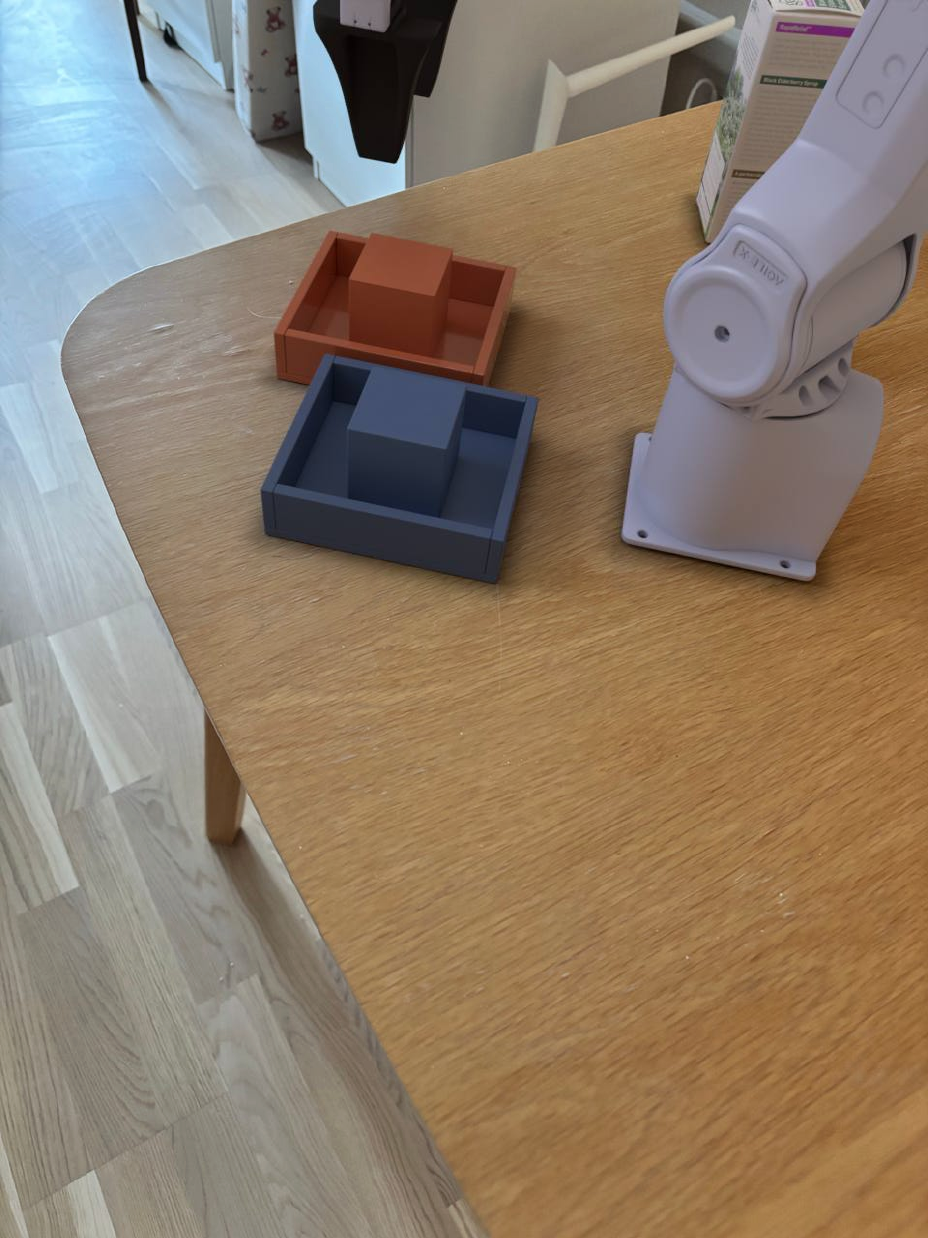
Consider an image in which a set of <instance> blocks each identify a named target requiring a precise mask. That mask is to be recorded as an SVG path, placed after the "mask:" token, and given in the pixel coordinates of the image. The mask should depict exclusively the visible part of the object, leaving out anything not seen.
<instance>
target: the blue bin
mask: <svg viewBox="0 0 928 1238" xmlns="http://www.w3.org/2000/svg"><path fill="white" fill-rule="evenodd" d="M373 367H379V368H384V369H388V370H393V371H398V372H403V373H408V374H413V375H418V376H423V377H427V378H432V379H437V380H442V381H447V382H452V383H457V384H461V385H466V386H467V390H466V399H465V407H464V416H463V424H462V433H461V441H460V450H459V457H458V460H457V464H456V467H455V470H454V474H453V477H452V480H451V483H450V487H449V490H448V493H447V497H446V500H445V503H444V506H443V510H442V513H441V516H440V518H436V517H432V516H427V515H422V514H418V513H413V512H408V511H404V510H399V509H394V508H389V507H385V506H380V505H375V504H371V503H366V502H361V501H357V500H352V499H347V427H348V425H349V423H350V420H351V418H352V415H353V413H354V411H355V408H356V406H357V404H358V401H359V399H360V396H361V394H362V392H363V389H364V387H365V385H366V382H367V380H368V377H369V375H370V373H371V370H372V368H373ZM539 400H540V399H539V397H538V396H533V395H527V394H523V393H520V392H515V391H510V390H505V389H500V388H495V387H491V386H488V387H486V386H481V385H476V384H471V383H466V382H461V381H457V380H452V379H447V378H442V377H437V376H432V375H427V374H422V373H418V372H413V371H408V370H403V369H398V368H393V367H388V366H383V365H379V364H374V363H369V362H364V361H359V360H354V359H349V358H344V357H340V356H335V355H330V354H325V355H324V357H323V359H322V361H321V363H320V365H319V367H318V369H317V371H316V373H315V376H314V378H313V380H312V382H311V384H310V385H308V388H307V390H306V393H305V395H304V396H303V398H302V401H301V403H300V405H299V407H298V409H297V412H296V413H295V415H294V418H293V420H292V422H291V423H290V426H289V428H288V430H287V431H286V434H285V436H284V438H283V440H282V443H281V445H280V447H279V448H278V452H277V453H276V455H275V458H274V459H273V462H272V464H271V466H270V468H269V470H268V472H267V474H266V477H265V479H264V481H263V483H262V485H261V487H260V489H259V490H260V491H259V492H260V499H261V500H260V501H261V509H262V510H261V511H262V520H263V528H264V529H263V530H264V535H267V536H272V537H276V538H281V539H287V540H290V541H295V542H300V543H303V544H304V543H305V544H308V545H309V544H310V545H313V546H318V547H323V548H328V549H333V550H336V551H342V552H347V553H352V554H356V555H360V556H364V557H369V558H375V559H378V560H383V561H388V562H391V563H392V562H393V563H396V564H397V563H398V564H402V565H407V566H412V567H416V568H419V569H425V570H430V571H435V572H439V573H444V574H448V575H453V576H457V577H462V578H465V579H466V578H467V579H472V580H476V581H481V582H486V583H490V584H494V585H495V584H497V583H498V580H499V575H500V572H501V567H502V562H503V558H504V554H505V550H506V545H507V542H508V537H509V533H510V529H511V525H512V521H513V516H514V512H515V509H516V503H517V499H518V495H519V493H520V492H519V491H520V488H521V483H522V479H523V474H524V470H525V466H526V461H527V457H528V454H529V449H530V445H531V441H532V436H533V431H534V425H535V420H536V415H537V410H538V405H539Z"/></svg>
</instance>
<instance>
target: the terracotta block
mask: <svg viewBox="0 0 928 1238" xmlns="http://www.w3.org/2000/svg"><path fill="white" fill-rule="evenodd" d="M368 238H369V239H368V241H367V243H366V245H365V247H364V249H363V251H362V253H361V255H360V257H359V259H358V261H357V263H356V265H355V267H354V269H353V271H352V273H351V275H350V277H349V341H352V342H357V343H362V344H367V345H372V346H377V347H381V348H386V349H391V350H396V351H401V352H406V353H411V354H416V355H421V356H425V357H430V358H433V356H434V354H435V351H436V348H437V345H438V343H439V340H440V337H441V334H442V331H443V329H444V326H445V323H446V320H447V311H448V300H449V289H450V278H451V267H452V256H453V255H454V248H451V247H447V246H441V245H437V244H431V243H426V242H421V241H416V240H411V239H406V238H401V237H396V236H391V235H386V234H381V233H375V232H371V233H370V234H369V237H368Z"/></svg>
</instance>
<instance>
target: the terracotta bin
mask: <svg viewBox="0 0 928 1238" xmlns="http://www.w3.org/2000/svg"><path fill="white" fill-rule="evenodd" d="M368 239H369V237H365V236H360V235H356V234H351V233H344V232H338V231H336V230H335V231H334V230H328V231H327V233H326V235H325V237H324V238H323V241H322V242H321V245H320V246H319V248H318V250H317V251H316V253H315V255H314V257H313V259H312V261H311V263H310V264H309V267H308V268H307V270H306V272H305V274H304V276H303V278H302V279H301V281H300V283H299V285H298V287H297V289H296V290H295V293H294V294H293V296H292V297H291V300H290V301H289V303H288V305H287V307H286V308H285V310H284V312H283V314H282V316H281V318H280V319H279V322H278V323H277V325H276V327H275V329H274V331H273V340H274V341H273V342H274V343H273V344H274V356H275V366H276V370H275V371H276V379H279V380H284V381H289V382H294V383H298V384H302V385H308V386H310V384H311V382H312V380H313V378H314V376H315V373H316V371H317V369H318V367H319V365H320V363H321V361H322V359H323V357H324V355H325V354H330V355H335V356H340V357H344V358H349V359H354V360H359V361H364V362H369V363H374V364H379V365H383V366H388V367H393V368H398V369H403V370H408V371H413V372H418V373H422V374H427V375H432V376H437V377H442V378H447V379H452V380H457V381H461V382H466V383H471V384H476V385H481V386H486V387H489V386H490V382H491V378H492V374H493V371H494V368H495V366H496V365H495V364H496V361H497V357H498V354H499V351H500V347H501V344H502V341H503V337H504V334H505V330H506V327H507V324H508V321H509V317H510V314H511V309H512V302H513V296H514V289H515V283H516V275H517V269H518V268H517V267H516V266H511V265H506V264H501V263H496V262H492V261H487V260H481V259H476V258H470V257H466V256H460V255H457V254H453V256H452V267H451V278H450V289H449V300H448V311H447V320H446V323H445V326H444V329H443V331H442V334H441V337H440V340H439V343H438V345H437V348H436V351H435V354H434V356H433V358H430V357H425V356H421V355H416V354H411V353H406V352H401V351H396V350H391V349H386V348H381V347H377V346H372V345H367V344H362V343H357V342H352V341H349V277H350V275H351V273H352V271H353V269H354V267H355V265H356V263H357V261H358V259H359V257H360V255H361V253H362V251H363V249H364V247H365V245H366V243H367V241H368Z"/></svg>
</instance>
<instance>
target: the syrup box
mask: <svg viewBox="0 0 928 1238" xmlns="http://www.w3.org/2000/svg"><path fill="white" fill-rule="evenodd" d="M864 11H865V8H864V6H863V3H861V0H750V2H749V6H748V10H747V13H746V17H745V20H744V23H743V27H742V31H741V34H740V38H739V42H738V44H737V49H736V51H735V55H734V59H733V63H732V67H731V70H730V74H729V77H728V81H727V85H726V88H725V92H724V95H723V99H722V102H721V106H720V109H719V113H718V117H717V120H716V123H715V127H714V129H713V134H712V138H711V141H710V145H709V149H708V151H707V155H706V159H705V163H704V166H703V170H702V173H701V177H700V180H699V185H698V187H697V191H696V194H695V198H694V200H695V204H696V209H697V212H698V217H699V220H700V224H701V229H702V233H703V237H704V241H705V242H706V243H708V244H711V243H712V242H713V241H714V240H715V239H716V238H717V236H718V235H719V233H720V231H721V230H722V228H723V226H724V224H725V222H726V220H727V218H728V216H729V214H730V212H731V210H732V209H733V208H734V206H735V205H736V204H737V203H738V202H739V200H740V199H741V198H742V197H743V196H744V195H745V194H746V193H747V192H748V191H749V190H750V188H751V187H752V186H753V185H754V184H755V183H756V182H757V181H758V180H759V179H760V178H761V177H762V176H763V175H764V174H765V173H766V171H767V170H768V169H769V168H770V167H771V166H772V165H773V164H774V163H775V162H776V161H777V160H778V159H779V158H780V157H781V156H782V155H783V154H784V152H785V151H786V150H787V149H788V148H789V147H790V146H791V145H792V144H793V142H794V141H795V140H796V139H797V137H798V136H799V134H800V132H801V130H802V128H803V126H804V124H805V122H806V121H807V119H808V117H809V115H810V113H811V111H812V109H813V107H814V105H815V104H816V102H817V100H818V98H819V96H820V94H821V92H822V90H823V88H824V87H825V85H826V83H827V81H828V79H829V77H830V75H831V73H832V71H833V70H834V68H835V66H836V64H837V62H838V60H839V58H840V56H841V54H842V53H843V51H844V49H845V47H846V45H847V43H848V41H849V39H850V37H851V36H852V34H853V32H854V30H855V28H856V26H857V24H858V22H859V20H860V19H861V17H862V15H863V13H864Z"/></svg>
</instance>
